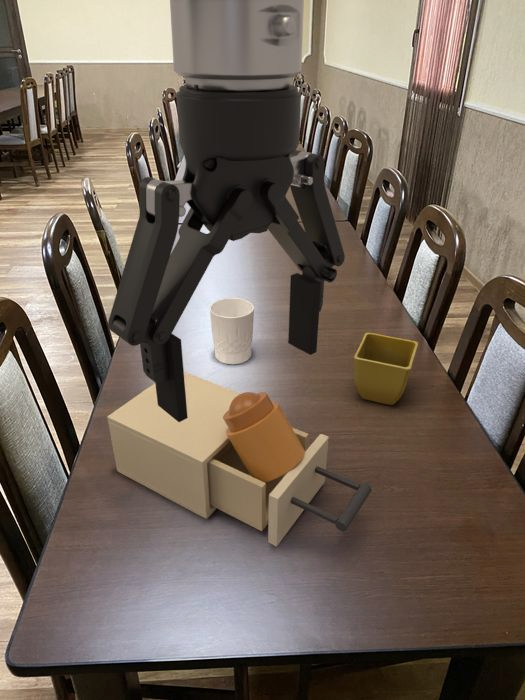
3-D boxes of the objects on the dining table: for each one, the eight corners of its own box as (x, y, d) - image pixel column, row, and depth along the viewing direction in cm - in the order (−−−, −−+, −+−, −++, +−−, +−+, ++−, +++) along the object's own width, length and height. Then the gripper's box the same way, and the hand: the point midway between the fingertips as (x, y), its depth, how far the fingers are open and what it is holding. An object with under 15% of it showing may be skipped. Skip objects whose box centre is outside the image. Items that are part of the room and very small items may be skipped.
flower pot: (402, 416, 85) (410, 368, 80) (348, 403, 88) (353, 357, 83) (410, 386, 92) (418, 341, 87) (360, 376, 95) (365, 331, 90)
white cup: (244, 370, 96) (243, 320, 91) (204, 361, 99) (202, 313, 93) (260, 349, 103) (260, 301, 97) (222, 341, 105) (220, 294, 100)
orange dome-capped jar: (285, 479, 60) (241, 404, 59) (242, 485, 65) (201, 416, 64) (315, 443, 66) (275, 374, 64) (273, 452, 70) (236, 387, 69)
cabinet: (264, 456, 77) (265, 402, 72) (206, 519, 67) (202, 462, 62) (180, 419, 84) (175, 368, 79) (116, 471, 74) (106, 416, 69)
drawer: (375, 504, 68) (383, 458, 64) (332, 576, 59) (338, 527, 55) (235, 442, 78) (234, 399, 74) (180, 496, 69) (175, 450, 65)
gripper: (69, 104, 22) (130, 476, 33) (412, 75, 37) (376, 341, 48) (3, 90, 27) (75, 420, 38) (330, 69, 42) (314, 313, 53)
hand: (243, 377), depth 43 cm, fingers open, 13 cm apart
